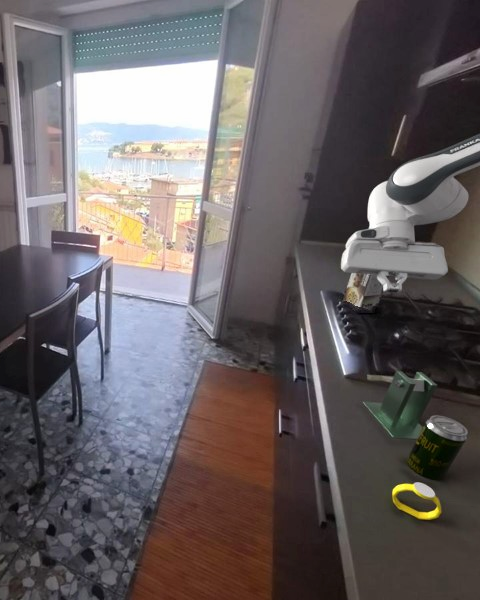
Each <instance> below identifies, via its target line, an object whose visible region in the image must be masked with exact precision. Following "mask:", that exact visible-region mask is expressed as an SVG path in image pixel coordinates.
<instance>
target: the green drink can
mask: <svg viewBox="0 0 480 600" xmlns="http://www.w3.org/2000/svg"><path fill="white" fill-rule="evenodd" d="M422 427H423V429H422V431H421V433H420V435H419V437H418V439H417V440H416V439H415V440H416V441H415V442H414V444H413V446H412V449H411V450H410V452H409V454H408V456H407V458H406V465H407V466H408V467H409V469H410V470H411V471H413V472H414V473H415V474H417V475H418V476H420V477H422V478H424V479H426V480H427V479H428V480H430V481H437V482H438V481H442V480H443V479H444V478H445V476H446V474H447V473H448V472H449V469H450V468H451V467H452V465H453V463H454V461H455V459H456V457H457V456H458V454H459V452H461V449H462V447H463V446H464V444H465V443H466V441H467V439H468V433H469V432H468V429H467V428H466V426H464V425H463V424H462V423H460V422H459V421H456V420H454V419H453V418H450V417H447V416H443V415H436V414H435V415H431V416H430V417H429V418H428V419H427V420H426V421H425V423H424V425H423V426H422Z"/></svg>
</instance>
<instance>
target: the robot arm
mask: <svg viewBox="0 0 480 600" xmlns="http://www.w3.org/2000/svg"><path fill="white" fill-rule="evenodd" d="M479 166H480V133H478V134H476V135H474V136H471V137H469V138H466V139H465V140H462V141H460V142H458V143H455V144H452V145H451V146H448V147H446V148H444V149H441V150H439V151H436V152H433V153H429V154H425V155H423V156H418V157H415V158H412V159H410V160H408V161H406V162H404V163H402V164H401V165H400V166H398V167H397V168H396V169H395V170H394V171H392V173H391V175H390V176H389V178H388V179H387V180H386V181H382V182H381V183H379V184H378V185H376V186H375V187H374V188H373V190H372V191H371V192H370V194H369V198H368V203H367V222H369V224H368V225H369V226H368V228H367V229H360V230H357V231H355V232H354V233H353V234H352V235H351V236H350V237H349V238H348V239H347V241H346V243H345V250H344V251H343V252H342V255H341V260H340V269H341V270H342V271H343V272H344V273H348V274H351V273H359V274H371V275H377V279H378V280H379V281H380V283H381V284H382V285H383V292H388V293H397V294H399V293H400V292H402V290H403V285H402V284H403V283H404V282H405V281H406V280H407V278H408V279H418V280H419V279H420V280H428V281H429V280H430V281H431V280H432V281H437V280H439V279H441V278H442V277H444V276H446V274H447V273H449V267H448V263H447V260H446V256H445V255H446V254H445V248H444V247H443V246H441V245H439V244H437V243H435V242H425V241H416V238H415V237H416V236H415V226H424V225H425V226H426V225H430V224H435V223H440V222H444V221H448V220H450V219H452V218H455V217H456V216H458V215H459V214H460V213H461V212H462V211H463V210H464V209H465V208H466V206H467V205H468V203H469V201H470V193H469V191H468V190H467V189H466V188H465V186H463V185H462V184H461V182H460V181H459V180H457V179H456V178H455V176H457V175H459V174H463V173H464V172H468V171H470V170H472V169H475V168H477V167H479ZM387 276H389V277H394V279H395V281H397V282H391V281H390V280H389V278H388V279H387Z"/></svg>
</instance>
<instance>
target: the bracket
mask: <svg viewBox="0 0 480 600" xmlns="http://www.w3.org/2000/svg"><path fill="white" fill-rule="evenodd" d="M393 376H394V377H393V380H392V382H391V383H390V385H389V387H388V389H387V391H386V393H385V396H384V398H383V400H382V402H373V401H362V403H363V405H364V406H365V407H366V408H367V409H368V410H369V412H370V413H371V414H372V415H373V416H374V418H375V419H376V420H377V421H378V422H379V424H380V425H381V426H382V427H383V428H384V429H385V430H386V432H387V433H388V434H389V435H390V436H391V437H392V439H402V440H403V439H404V440H417V439H418V437H419V435H420V433H421V431H422V429H423V427H424V426H423V425H421V424H420V423H419V422H420V421H421V418H422V417H423V414H425V411H426V409H427V407H428V405H429V403H430V402H431V399H432V397H433V395H434V393H435V391H436V389H437V387H438V384H437V383H435V382H434V381H433V380H432V379H431V378H430V377H429V376H427V375H426V374H425V373H423V372H422V371H416V373H415V375H414V376H413V378H414V379H420V380H424V392H419V391H413V389H414V387H415V385H416V384H415V383H414V382H413V381H412V380H411V379H410V378H411V377H409V376H407V375H406V374H405V373H404V372H403V371H402V370H396V371H395V373H394V375H393Z"/></svg>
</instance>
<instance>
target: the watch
mask: <svg viewBox="0 0 480 600" xmlns="http://www.w3.org/2000/svg"><path fill="white" fill-rule="evenodd" d="M407 491H409V492H413V493H415V494H416V495H417V496H419V497H420V498H421V499H424V500H428V501H432V502H433V503H434V505H436V508H435V509H434V510H432V511H428V512H425V511H418V510H416V509H414V508H412V507H410V506H407V505H406V504H404V503H401V502H400V500H399V499H398V498H397V495H398V494H400V493H401V492H407ZM392 501H393V502H392V503H393V504H394V505H395V507H396V508H397V509H398V510H401V511H403V512H404V513H406V514H409V515H411V516H412V517H415V518H417V519H418V520H425V521H431V520H435V519H438V518H439V517H440V515H441V514H442V505H441V502H440V499H439V497H437V496H436V493H435V491H434V490H433V488H431V487H430V486H428V484H425V483H422V482H418V481H417V482H414V483H401V484H398V485H396V486H394V488H393V489H392Z"/></svg>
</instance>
